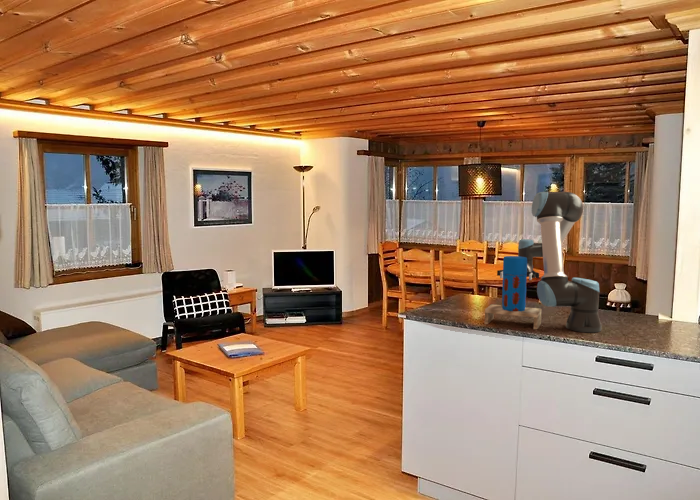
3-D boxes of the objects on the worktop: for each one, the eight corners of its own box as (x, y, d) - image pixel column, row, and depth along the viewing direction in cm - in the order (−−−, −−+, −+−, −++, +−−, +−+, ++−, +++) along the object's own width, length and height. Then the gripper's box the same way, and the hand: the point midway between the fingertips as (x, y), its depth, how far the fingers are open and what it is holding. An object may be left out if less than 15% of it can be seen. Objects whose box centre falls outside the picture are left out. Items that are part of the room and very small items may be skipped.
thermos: (527, 311, 259) (528, 258, 257) (503, 311, 261) (505, 258, 258) (523, 307, 270) (525, 256, 267) (500, 306, 272) (502, 255, 269)
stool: (540, 323, 267) (541, 308, 266) (536, 329, 255) (537, 314, 254) (490, 318, 278) (491, 304, 277) (484, 323, 265) (484, 309, 264)
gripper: (547, 279, 282) (542, 286, 263) (497, 276, 293) (489, 282, 274) (547, 265, 281) (542, 270, 262) (497, 262, 292) (489, 267, 273)
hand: (515, 276), depth 268 cm, fingers open, 13 cm apart
